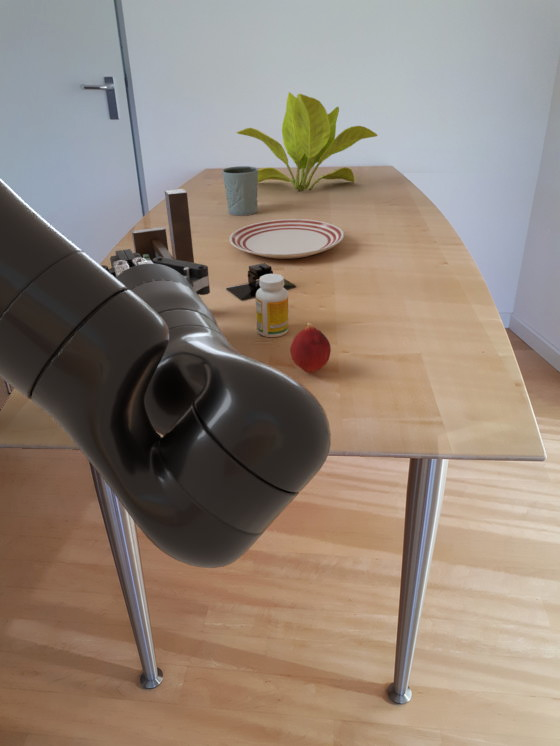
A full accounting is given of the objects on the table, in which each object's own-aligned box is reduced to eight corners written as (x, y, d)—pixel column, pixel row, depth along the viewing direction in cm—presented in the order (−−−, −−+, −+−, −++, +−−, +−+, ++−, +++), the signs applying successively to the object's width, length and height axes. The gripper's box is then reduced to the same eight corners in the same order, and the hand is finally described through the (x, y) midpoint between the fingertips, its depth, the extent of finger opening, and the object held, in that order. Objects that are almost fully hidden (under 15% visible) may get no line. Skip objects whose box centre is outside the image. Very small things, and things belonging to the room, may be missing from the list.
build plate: (241, 301, 105) (240, 278, 102) (225, 289, 110) (223, 267, 108) (296, 287, 110) (296, 265, 108) (277, 276, 115) (277, 255, 113)
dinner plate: (251, 273, 117) (250, 258, 115) (216, 238, 139) (215, 225, 137) (364, 256, 125) (365, 242, 124) (314, 225, 147) (314, 213, 146)
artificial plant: (380, 208, 186) (392, 124, 188) (321, 148, 150) (336, 45, 152) (278, 216, 209) (290, 141, 211) (205, 166, 173) (220, 76, 175)
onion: (331, 364, 83) (333, 316, 79) (326, 383, 78) (328, 334, 74) (294, 361, 84) (294, 313, 80) (287, 380, 79) (286, 330, 75)
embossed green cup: (265, 210, 163) (264, 167, 157) (247, 218, 155) (244, 174, 149) (237, 206, 167) (235, 165, 161) (218, 214, 160) (215, 171, 154)
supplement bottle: (251, 334, 92) (248, 280, 87) (266, 322, 96) (264, 270, 91) (279, 340, 90) (278, 286, 85) (293, 327, 94) (293, 274, 89)
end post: (179, 323, 96) (163, 196, 85) (173, 313, 100) (157, 189, 89) (206, 318, 98) (194, 192, 87) (199, 308, 102) (187, 186, 91)
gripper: (243, 268, 41) (184, 213, 54) (56, 298, 36) (44, 230, 50) (247, 355, 45) (192, 284, 58) (79, 392, 40) (62, 305, 54)
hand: (123, 259), depth 54 cm, fingers closed
